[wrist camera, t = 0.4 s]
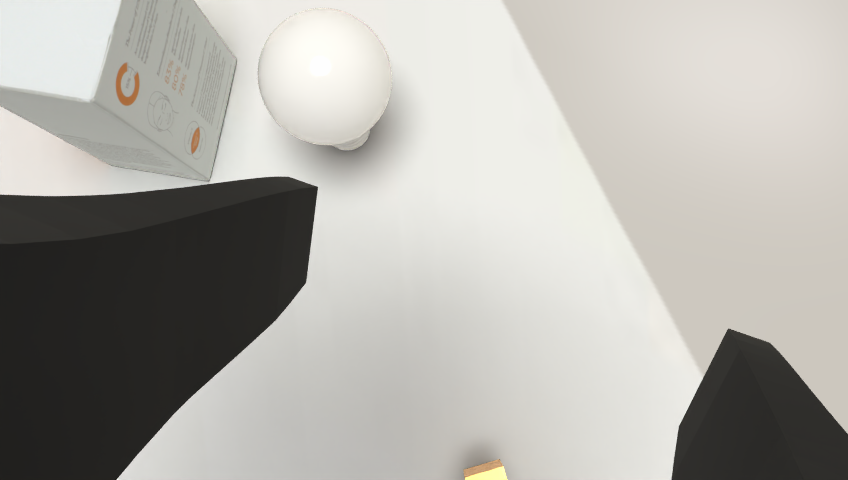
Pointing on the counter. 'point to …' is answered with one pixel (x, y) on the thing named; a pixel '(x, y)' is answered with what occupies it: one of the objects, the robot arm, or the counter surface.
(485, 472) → the collar
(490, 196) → the counter surface
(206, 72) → the small box
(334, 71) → the lightbulb
